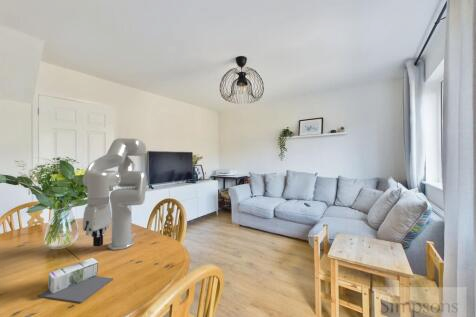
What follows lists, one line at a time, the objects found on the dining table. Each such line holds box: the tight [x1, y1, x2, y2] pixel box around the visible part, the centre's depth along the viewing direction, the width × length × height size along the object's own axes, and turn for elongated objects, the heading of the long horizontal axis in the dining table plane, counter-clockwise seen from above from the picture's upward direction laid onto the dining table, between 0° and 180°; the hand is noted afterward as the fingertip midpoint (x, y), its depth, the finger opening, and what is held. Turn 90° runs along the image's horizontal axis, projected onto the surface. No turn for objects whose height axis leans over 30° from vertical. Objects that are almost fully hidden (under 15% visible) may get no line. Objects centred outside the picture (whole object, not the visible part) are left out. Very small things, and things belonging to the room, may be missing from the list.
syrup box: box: [47, 257, 99, 293], centre depth 81 cm, size 6×6×14 cm
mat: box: [37, 275, 114, 304], centre depth 78 cm, size 14×18×1 cm
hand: (98, 245), depth 87 cm, fingers closed
